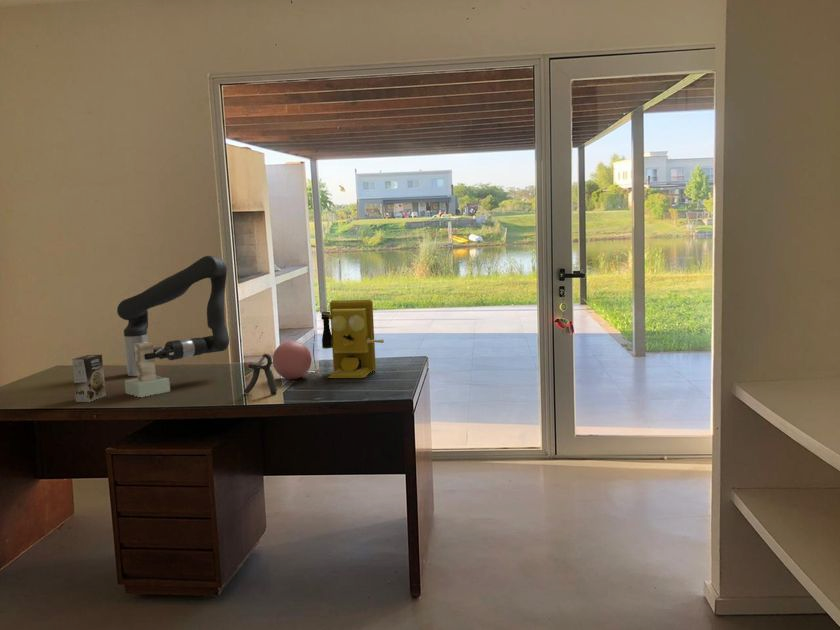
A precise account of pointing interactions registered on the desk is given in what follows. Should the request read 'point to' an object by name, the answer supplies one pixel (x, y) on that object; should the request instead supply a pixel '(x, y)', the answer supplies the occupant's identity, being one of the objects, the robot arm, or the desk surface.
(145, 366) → the ash pillar
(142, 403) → the desk surface
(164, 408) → the desk surface
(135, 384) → the base block
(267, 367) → the hand grip strengthener
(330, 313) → the vintage telephone
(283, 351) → the balloon
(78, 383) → the coffee box
